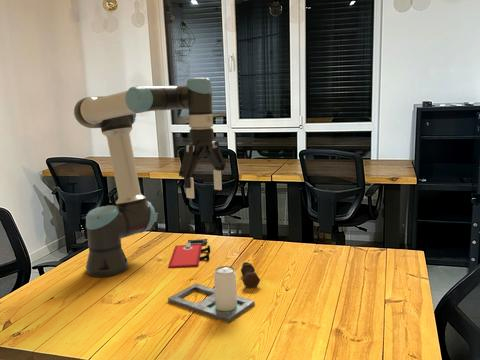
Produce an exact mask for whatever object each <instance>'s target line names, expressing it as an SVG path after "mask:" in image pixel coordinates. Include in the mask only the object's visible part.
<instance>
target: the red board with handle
mask: <svg viewBox="0 0 480 360" xmlns="http://www.w3.org/2000/svg"><path fill="white" fill-rule="evenodd" d="M207 243H208V238H203V239H202V238H201V239H198V238H197V239H188V241H187V243H186V244H182V245H181V244H179V245H175V247H174V249H173V253H172V255H171V257H170V261H169V264H168V267H167V268H168V269H173V268H174V269H175V268H176V269H178V268H199V265H200V264H199V263H200V261H203V260H206V261H210V253H211V246H210V245H207ZM203 245H206V246H207V247H205V248H203ZM205 252H206V253H205ZM202 253H205V255H203V256H201V254H202Z"/></svg>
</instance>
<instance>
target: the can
mask: <svg viewBox="0 0 480 360" xmlns="http://www.w3.org/2000/svg"><path fill="white" fill-rule="evenodd" d="M214 270H215V272H214V275H213V280H214V281H213V283H214V289H215V305H216V308H217V309H218V310H219V311H222V312H229V311H232V310H234V309H235V308H236V307H237V296H238V295H237V278H236V277H237V275H236V272H235V268H234V267H233V266H228V265H223V266H221V265H220V266H218V267H216V268H215V269H214Z"/></svg>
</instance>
